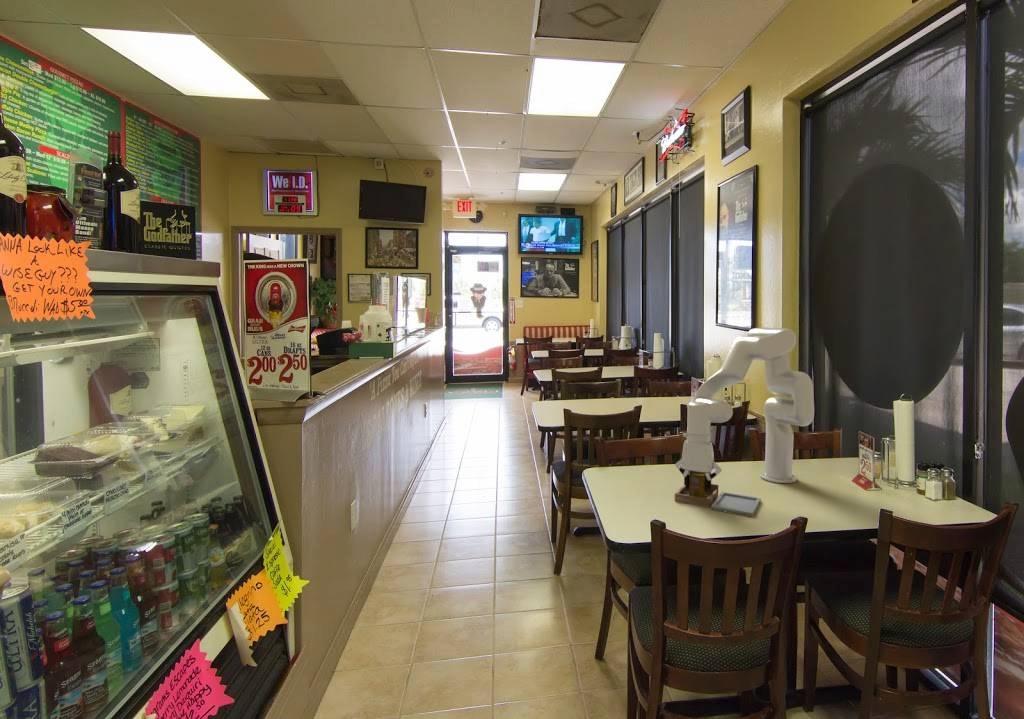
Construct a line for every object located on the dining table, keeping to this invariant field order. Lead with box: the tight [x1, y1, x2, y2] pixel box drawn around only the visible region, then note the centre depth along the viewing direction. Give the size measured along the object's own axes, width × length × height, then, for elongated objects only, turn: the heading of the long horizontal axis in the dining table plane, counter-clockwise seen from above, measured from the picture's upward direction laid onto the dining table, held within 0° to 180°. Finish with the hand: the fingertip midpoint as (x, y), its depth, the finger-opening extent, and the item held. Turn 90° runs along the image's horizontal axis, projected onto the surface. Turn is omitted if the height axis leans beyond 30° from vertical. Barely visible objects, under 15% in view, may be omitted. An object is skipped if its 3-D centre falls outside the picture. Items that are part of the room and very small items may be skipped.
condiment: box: [687, 471, 710, 499], centre depth 189 cm, size 7×8×12 cm
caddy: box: [674, 483, 720, 508], centre depth 189 cm, size 13×12×4 cm
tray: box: [710, 491, 762, 517], centre depth 182 cm, size 16×13×1 cm
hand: (697, 488), depth 189 cm, fingers closed on condiment, 6 cm apart
